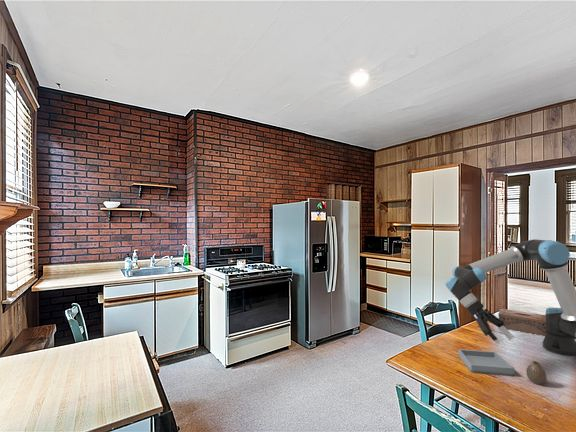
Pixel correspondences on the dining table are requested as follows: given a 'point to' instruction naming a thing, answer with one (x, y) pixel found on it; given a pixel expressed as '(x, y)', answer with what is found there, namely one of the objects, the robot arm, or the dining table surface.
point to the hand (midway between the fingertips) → (507, 342)
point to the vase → (536, 373)
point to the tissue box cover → (523, 321)
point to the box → (485, 362)
